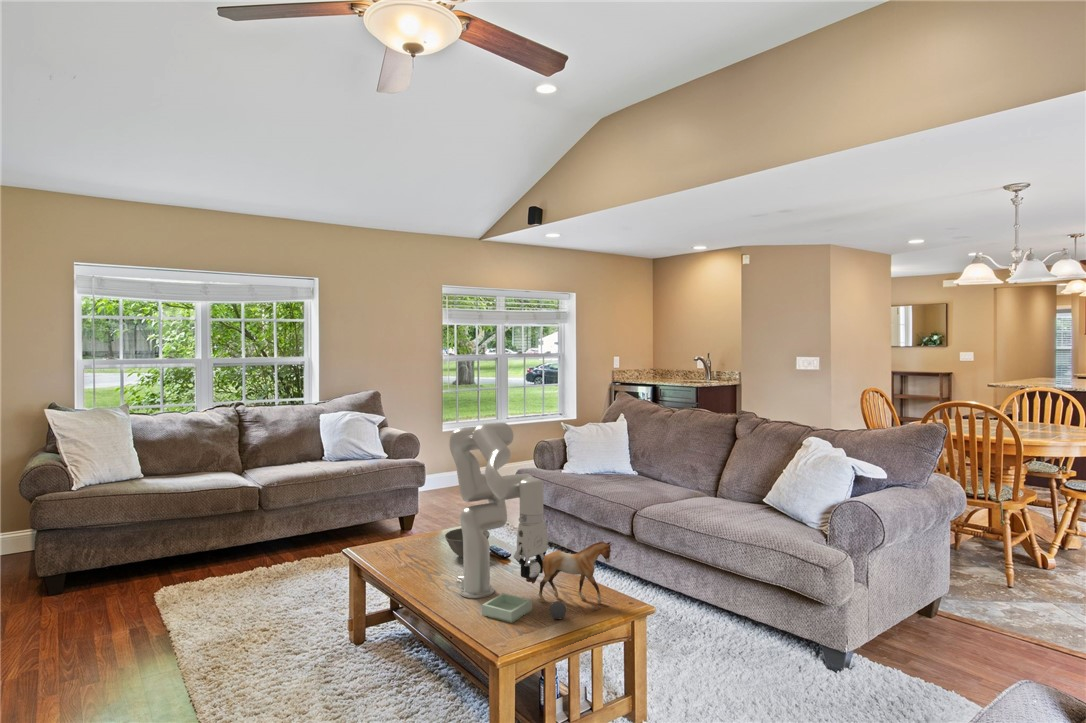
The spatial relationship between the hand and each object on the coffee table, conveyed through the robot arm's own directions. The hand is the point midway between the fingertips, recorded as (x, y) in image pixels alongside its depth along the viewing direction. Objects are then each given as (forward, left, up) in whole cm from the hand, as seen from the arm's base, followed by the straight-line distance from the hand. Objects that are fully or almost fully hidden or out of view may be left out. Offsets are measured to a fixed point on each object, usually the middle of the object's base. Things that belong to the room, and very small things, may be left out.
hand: (531, 574), depth 204 cm
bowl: (-62, +43, -17) cm, 78 cm away
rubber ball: (+3, +10, -17) cm, 20 cm away
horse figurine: (-3, +27, -17) cm, 33 cm away
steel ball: (0, 0, -1) cm, 1 cm away
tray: (-14, +5, -17) cm, 23 cm away
